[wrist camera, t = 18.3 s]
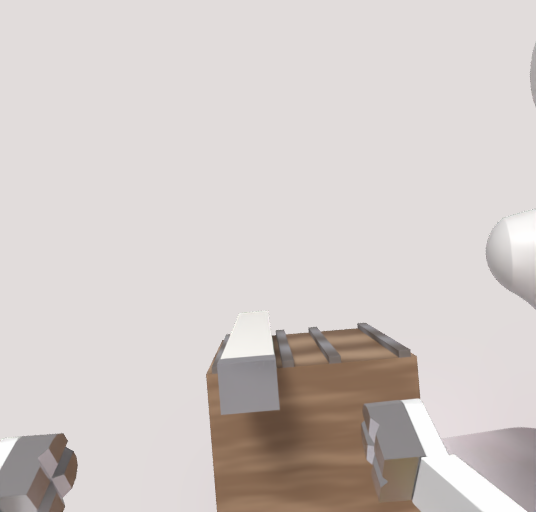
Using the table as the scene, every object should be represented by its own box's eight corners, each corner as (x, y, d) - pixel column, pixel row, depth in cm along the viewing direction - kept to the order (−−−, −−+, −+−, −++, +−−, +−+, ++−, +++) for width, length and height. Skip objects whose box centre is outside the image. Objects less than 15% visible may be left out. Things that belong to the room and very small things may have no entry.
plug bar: (279, 409, 23) (275, 359, 23) (221, 414, 23) (216, 364, 23) (270, 335, 46) (268, 310, 46) (240, 338, 46) (238, 312, 46)
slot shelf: (442, 662, 32) (416, 349, 33) (230, 683, 32) (205, 367, 32) (387, 540, 46) (369, 322, 47) (239, 555, 46) (222, 335, 46)
